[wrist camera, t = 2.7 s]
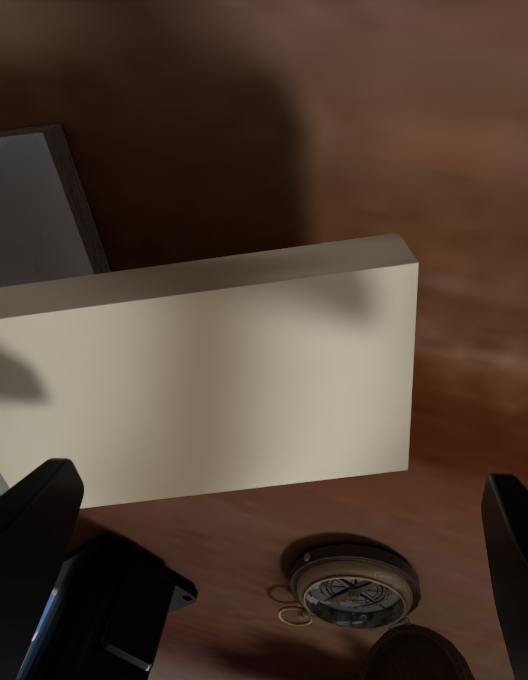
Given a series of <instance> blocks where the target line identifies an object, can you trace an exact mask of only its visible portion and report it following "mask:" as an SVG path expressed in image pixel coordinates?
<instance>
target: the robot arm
mask: <svg viewBox="0 0 528 680" xmlns="http://www.w3.org/2000/svg"><path fill="white" fill-rule="evenodd" d="M83 496H84V484H83V481H82V479H81V477H80V475H79V473H78V471H77V469H76V467H75V465H74V463H73V462H72V460H70V459H68V458H50V459H48V460H46V461H45V462H44V463H42V464H41V465H40V466H39V467H37V468H36V469H35V470H33V471H32V472H31V473H29V474H28V475H27V476H25V477H24V478H23V479H22V480H20V481H19V482H18V483H16V484H15V485H14V486H12V487H11V488H10V489H9V490H7V491H6V492H5V493H3V494H2V495H1V496H0V680H148V677H149V673H150V670H151V668H152V666H153V663H154V660H155V656H156V653H157V649H158V646H159V642H160V639H161V635H162V632H163V628H164V625H165V621H166V618H167V614H168V613H171V612H173V611H175V610H178V609H180V608H182V607H185V606H187V605H189V604H192V603H194V602H196V599H197V595H198V591H197V590H196V589H195V588H193V587H192V586H190V585H189V584H187V583H185V582H184V581H182V580H180V579H179V578H177V577H176V576H174V575H172V574H171V573H169V572H167V571H166V570H164V569H163V568H161V567H159V566H158V565H156V564H154V563H153V562H151V561H149V560H148V559H146V558H145V557H143V556H141V555H140V554H138V553H136V552H135V551H133V550H132V549H130V548H128V547H127V546H125V545H123V544H122V543H120V542H119V541H117V540H115V539H114V538H112V537H110V536H107V535H100V536H98V537H96V538H94V539H93V540H91V541H89V542H88V543H86V544H85V545H83V546H81V547H80V548H78V549H77V550H75V551H73V552H72V553H70V554H69V555H67V556H66V553H67V550H68V546H69V543H70V540H71V536H72V533H73V530H74V526H75V523H76V520H77V516H78V513H79V510H80V506H81V503H82V500H83ZM481 513H482V521H483V528H484V534H485V541H486V548H487V555H488V562H489V568H490V575H491V582H492V589H493V594H494V600H495V605H496V609H497V614H498V618H499V622H500V625H501V629H502V633H503V637H504V640H505V644H506V648H507V652H508V655H509V659H510V663H511V667H512V670H513V674H514V678H515V680H528V490H527V488H526V487H525V486H524V485H523V484H522V483H521V482H520V480H519V479H518V478H517V477H515V476H514V475H512V474H498V473H491V474H489V475H488V476H487V479H486V483H485V488H484V493H483V498H482V503H481ZM54 587H55V588H57V589H58V591H57V593H56V596H55V598H54V600H53V602H52V604H51V606H50V608H49V610H48V612H47V614H46V617H45V619H44V621H43V623H42V625H41V627H40V629H39V631H38V633H37V635H36V637H35V640H34V642H33V644H32V646H31V648H30V650H29V652H28V654H27V651H28V649H29V646H30V644H31V642H32V639H33V637H34V634H35V632H36V629H37V627H38V625H39V622H40V620H41V617H42V615H43V612H44V610H45V608H46V605H47V603H48V600H49V598H50V595H51V593H52V591H53V588H54ZM26 654H27V656H26ZM25 656H26V658H25ZM24 659H25V661H24ZM23 661H24V663H23ZM22 663H23V665H22ZM21 666H22V667H21ZM20 668H21V669H20Z"/></svg>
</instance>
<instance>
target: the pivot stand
mask: <svg viewBox="0 0 528 680" xmlns="http://www.w3.org/2000/svg"><path fill="white" fill-rule="evenodd" d="M109 272H111V270H110V267H109V264H108V261H107V258H106V255H105V252H104V249H103V246H102V243H101V241H100V238H99V235H98V232H97V229H96V226H95V223H94V220H93V217H92V214H91V211H90V208H89V205H88V202H87V199H86V196H85V193H84V190H83V187H82V184H81V181H80V178H79V175H78V172H77V169H76V166H75V164H74V161H73V158H72V155H71V152H70V149H69V146H68V143H67V140H66V137H65V134H64V131H63V128H62V125H61V124H53V125H45V126H37V127H28V128H20V129H11V130H3V131H0V287H7V286H14V285H21V284H28V283H36V282H43V281H50V280H58V279H65V278H72V277H80V276H87V275H94V274H101V273H109Z"/></svg>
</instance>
